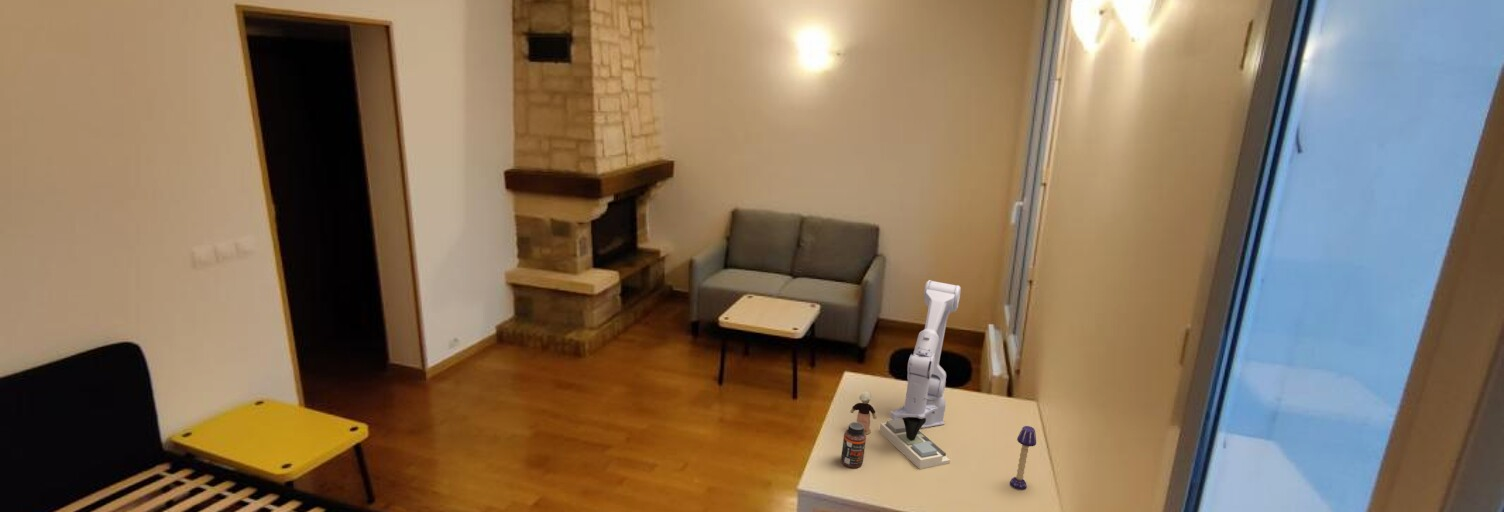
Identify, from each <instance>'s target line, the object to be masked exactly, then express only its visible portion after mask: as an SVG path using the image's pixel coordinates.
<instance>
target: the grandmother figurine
mask: <svg viewBox="0 0 1504 512" xmlns="http://www.w3.org/2000/svg"><path fill="white" fill-rule="evenodd" d="M871 399H872V394H871V393H870V391H867V390H866V391H863V392H861V393H860V395H859V400H860V401H861V402H857V403H856V404H854V405H853V406H852V408H851V410H850V411H849V413H850V414H854V412H855V411H858V412H857V416H856V417H857V418H856V422H857V423H860V424H862V425H863V426H864V431H863V432H864V433H865V434H866V435H870V434H871V433H872V431H871V429H870V426H871V415H872V417H873V419H874V420H876V419H877V418H878V417H877V413H876V410H875V408H874V406H872V404H869V403H870V402H871ZM870 413H871V414H870Z"/></svg>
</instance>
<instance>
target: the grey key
mask: <svg viewBox="0 0 1504 512" xmlns="http://www.w3.org/2000/svg"><path fill="white" fill-rule="evenodd" d="M886 426H887V427H888V428H890V429H891V430H892V431H893V432H894V433H895V434H896V433H901V432H906V429H905V424H904V421H903V419H902V418H900V419H897V420H896V421H894V420H892V419H891V420H890V419H889V420H886Z"/></svg>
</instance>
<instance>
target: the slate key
mask: <svg viewBox="0 0 1504 512" xmlns="http://www.w3.org/2000/svg"><path fill="white" fill-rule="evenodd" d="M912 449H913V450H914V451H915V452H916V453H917V454H918V455H919V456H921V457H928V456H933V455H936V454H937V450H936V449H935V448H934V447H933V446H931V445H930V444H929V443H928V442H927V441H926V442H920V443H915V444H912Z"/></svg>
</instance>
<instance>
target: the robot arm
mask: <svg viewBox="0 0 1504 512" xmlns="http://www.w3.org/2000/svg"><path fill="white" fill-rule="evenodd" d="M961 290H962V287H961V286H960V285H958V284H956V285H955V284H952V283H951V284H950V283H945V282H939V281H935V280H931V279H928V281H926V282H925V286H924V290H923V299H924V304H925V307H927V308H928V310H927V313H926V320H925V325H924V328H923V330H921V331H920V332H919V333H918V335H917V339H916V343H915V346H914V350H913V353H912V354H910V355H909V358H908V362H907V375H906V377H907V378H906V379H907V386H906V393H905V399H904V400H905V401H904V406H902V407H899V408H898V409H895V410H891V411H890V419H891V420H894V421H896V420H897V419H901V420H902V421H903V422H904V424H905V429H906V436H907V438H908V439H909V440H910V441H912V440H915V437H916V435H917V433H918V431H920V430H921V429H924V428H930V427H937V426H942V425H945V422H944V417H945V411H946V400H945V399H946V398H945V396H944V393H945V389H946V383H947V380H946V379H947V372H946V371H945V370H944V368H943V367H942V366H941V365H940V360H941V354H942V348H943V344H944V340H945V333H946V327H947V324H948V323H947V322H948V318H949V316H950V314H951V313H954V312H957V310H958V308H959V303H960V302H959V301H960V298H961V292H962V291H961Z"/></svg>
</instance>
